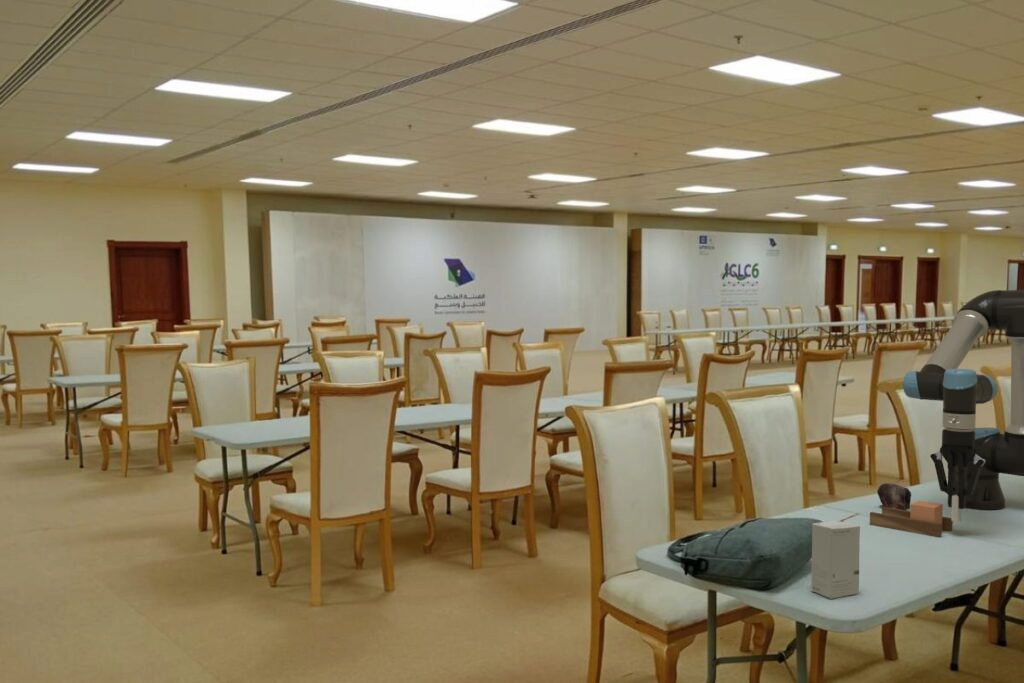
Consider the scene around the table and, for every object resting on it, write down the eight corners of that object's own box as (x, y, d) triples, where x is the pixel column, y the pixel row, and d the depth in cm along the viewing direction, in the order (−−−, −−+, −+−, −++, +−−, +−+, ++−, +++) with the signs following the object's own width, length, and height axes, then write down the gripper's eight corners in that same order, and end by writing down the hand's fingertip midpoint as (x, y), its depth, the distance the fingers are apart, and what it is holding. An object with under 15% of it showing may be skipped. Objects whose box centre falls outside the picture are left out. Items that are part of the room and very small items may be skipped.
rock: (915, 515, 253) (879, 509, 259) (918, 486, 254) (881, 481, 260) (907, 517, 244) (870, 511, 250) (909, 486, 244) (872, 481, 250)
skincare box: (830, 600, 179) (831, 529, 178) (809, 591, 184) (810, 522, 184) (860, 594, 182) (861, 524, 181) (839, 585, 188) (840, 518, 187)
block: (918, 526, 232) (919, 500, 231) (942, 530, 227) (942, 504, 227) (910, 530, 227) (910, 504, 227) (933, 534, 223) (934, 508, 223)
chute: (857, 516, 247) (857, 501, 246) (954, 534, 228) (954, 517, 228) (838, 524, 238) (838, 508, 238) (937, 543, 220) (937, 525, 219)
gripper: (926, 428, 223) (924, 518, 224) (981, 433, 213) (978, 527, 214) (937, 425, 228) (935, 513, 229) (991, 430, 219) (988, 522, 220)
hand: (956, 520), depth 222 cm, fingers closed
